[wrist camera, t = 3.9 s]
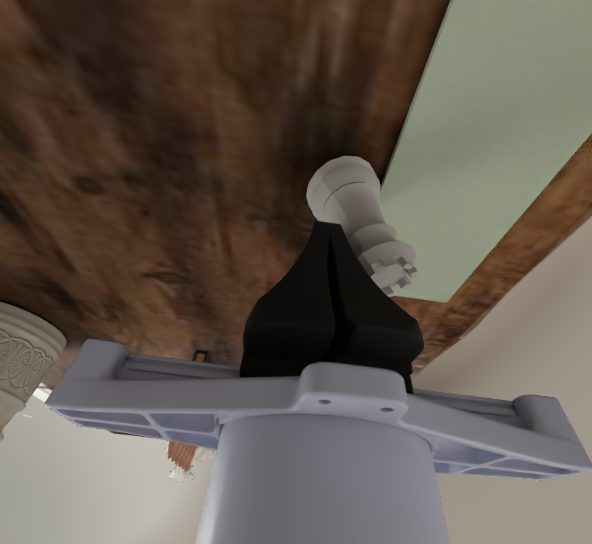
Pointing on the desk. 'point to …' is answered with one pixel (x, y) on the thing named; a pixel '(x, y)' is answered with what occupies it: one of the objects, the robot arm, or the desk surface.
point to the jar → (24, 357)
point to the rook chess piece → (362, 220)
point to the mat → (486, 131)
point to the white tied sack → (199, 455)
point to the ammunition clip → (181, 451)
